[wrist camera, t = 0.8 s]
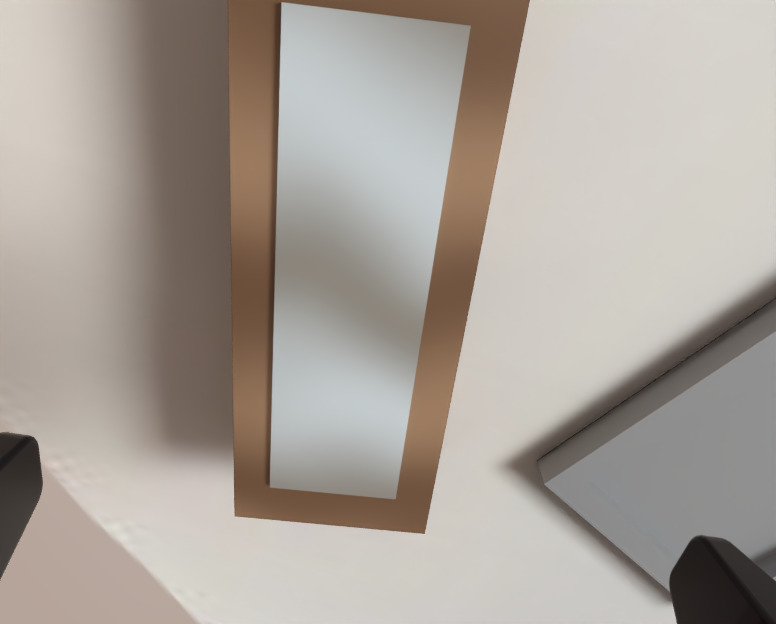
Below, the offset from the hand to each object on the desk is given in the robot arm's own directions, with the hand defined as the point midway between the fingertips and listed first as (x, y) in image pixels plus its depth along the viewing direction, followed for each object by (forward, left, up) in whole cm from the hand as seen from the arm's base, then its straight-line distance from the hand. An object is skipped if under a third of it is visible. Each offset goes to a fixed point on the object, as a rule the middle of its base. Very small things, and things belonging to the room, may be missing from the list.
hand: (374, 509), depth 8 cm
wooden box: (-1, 0, -12) cm, 12 cm away
